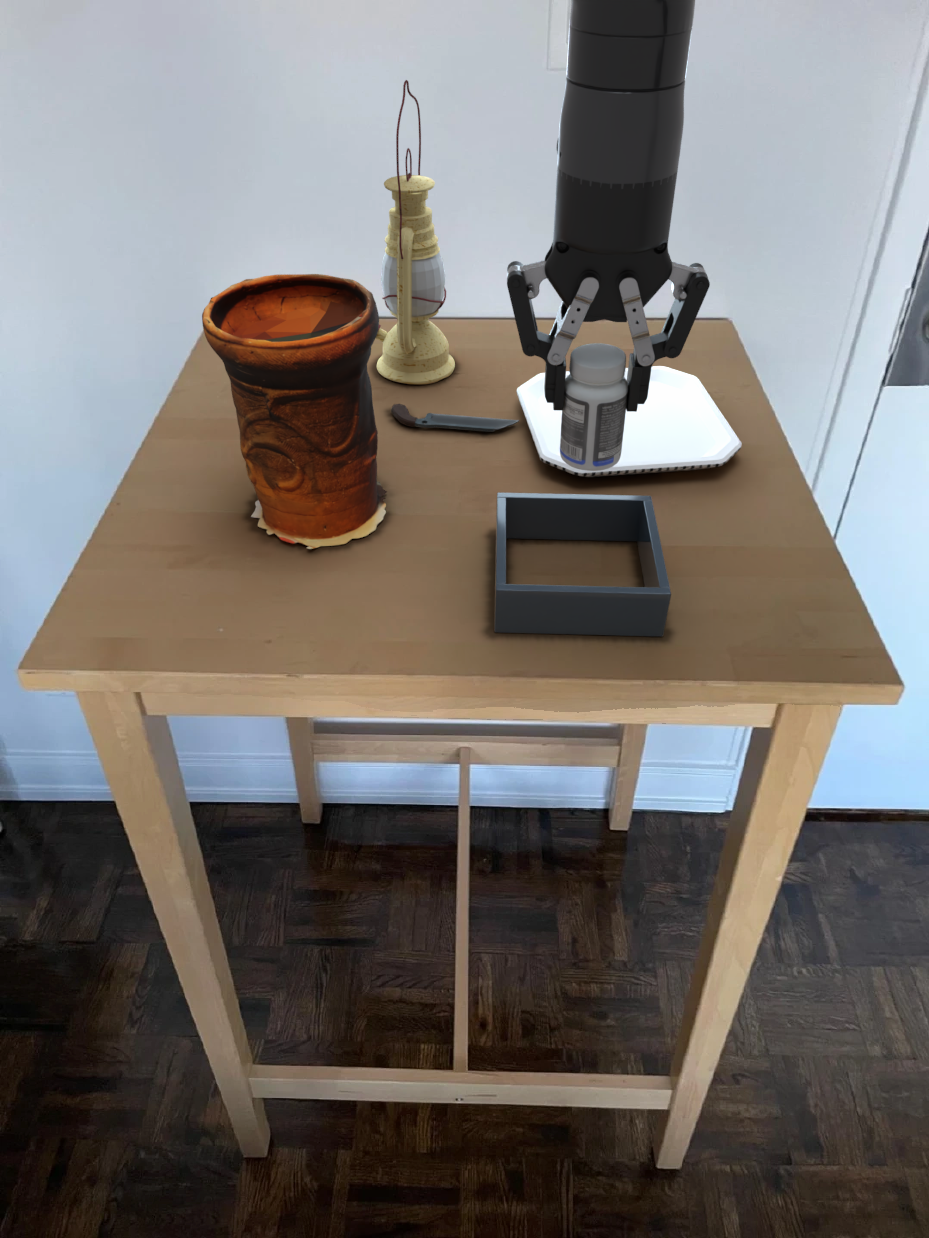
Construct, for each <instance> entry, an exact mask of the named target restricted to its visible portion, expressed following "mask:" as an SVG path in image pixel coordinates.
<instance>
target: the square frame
mask: <svg viewBox="0 0 929 1238" xmlns="http://www.w3.org/2000/svg"><path fill="white" fill-rule="evenodd" d="M495 517H496V518H495V519H496V520H495V563H494V565H495V567H494V570H495V571H494V625H493V626H494V630H493V631H494V633H499V634H501V633H502V634H538V635H539V634H541V635H582V636H585V635H586V636H620V637H624V636H625V637H656V638H657V637H660V638H661V637H664V634H665V628H666V624H667V623H666V622H667V618H668V613H669V608H670V603H671V598H672V591H671V585H670V581H669V576H668V571H667V567H666V561H665V557H664V553H663V548H662V543H661V537H660V533H659V527H658V523H657V517H656V513H655V509H654V502H653V499H652V496H651V495H635V494H633V495H630V494H629V495H628V494H623V495H622V494H588V493H587V494H585V493H583V494H581V493H579V494H578V493H542V492H539V493H537V492H497V493H496V515H495ZM507 539H511V540H512V539H515V540H516V539H517V540H518V539H519V540H556V541H557V540H558V541H559V540H561V541H562V540H563V541H601V542H602V541H603V542H605V541H606V542H637V543H636V544H637V550H638V556H639V561H640V565H641V566H640V567H641V573H642V579H643V584H644V587H643V586H640V587H638V586H602V585H601V586H599V585H598V586H597V585H595V586H594V585H561V584H559V585H557V584H556V585H555V584H552V585H551V584H522V583H521V584H518V583H517V584H515V583H507Z"/></svg>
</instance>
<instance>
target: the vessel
mask: <svg viewBox="0 0 929 1238" xmlns="http://www.w3.org/2000/svg"><path fill="white" fill-rule="evenodd" d="M201 321H202V329H203V333H204V337H205V339H206V341H207V343H208V345H209V346H210V348H211V350H213V352H214V353H215V354H216V355H217V356H218V358H220V360H221V361H222V362H223V366H224V369H225V372H226V374H227V376H228V378H229V381H230V392H231V396H232V401H233V405H234V408H235V413H236V414H235V415H236V419H237V420H236V421H237V425H238V429H239V445H240V452H241V457H242V458H243V459H244V462H245V469H246V473H247V477H248V479H249V481H250V483H251V485H252V486H253V488H254V491H255V494H256V497H257V500H256V501H255V502H254V505H255V509H254V511H253V513H252V514H251V516H250V518H255V519H258V522H257V527H259V528H260V529H263V530H266V532H265V533H266V534H267V535H268V536H271V535H274V534H275V535H276V536H277V538H279V540H281V541H283V542H286V543H290V544H292V545H293V544H297V543H299V544H302V545H305V546H307V547H306V549H308V550H312V549H317V548H320V547H330V546H331V547H333V546H341V545H345V544H347V543H348V542H350V541H352V539H360V538H363V537H367V536H369V534H371V533H373V532H374V531H376V530H377V528H378V527H377V526H378V525H379V524H380V523H381V522H382V521H383V520H384V518H385V515H386V513H387V510H386V507H387V504H386V502H385V499H386V497H384V496H385V495H386V494H387V493H388V491H387V490H386V489H384V488H383V486H382V484H381V481H377V480H378V460H377V459H378V458H377V455H378V441H379V439H378V438H379V437H378V435H379V432H378V428H377V425H376V417H375V409H374V401H373V388H372V383H371V377H370V374H369V372H368V363H369V360H370V357H371V353H372V346H373V344H374V342H375V340H376V336H377V333H378V327H379V325H380V315H379V311H378V307H377V302H376V300H375V298H374V294H373V292H371V291H370V290H368V289H367V288H366V287H365V286H364V285H363V284H361V283H360V282H359V281H357V280H354V279H351V278H345V277H344V278H343V277H339V276H333V275H329V274H322V273H321V274H320V273H305V274H301V273H299V274H296V273H295V274H293V273H292V274H290V273H289V274H285V273H284V274H271V275H263V276H259V277H255V278H245V279H243V280H241V281H239V282H236V283H234V284H231V285H230V286H228V287H227V288H225V289H224V290H222V291H221V292H220V293H218V294H216V295H214V296H212V297H210V300H209V302H208V303H207V305H205V307H204V309H203V311H202V314H201Z"/></svg>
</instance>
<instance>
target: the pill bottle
mask: <svg viewBox="0 0 929 1238" xmlns="http://www.w3.org/2000/svg"><path fill="white" fill-rule="evenodd" d="M568 366H569V367H568V368H569V371H570V374H569V375H568V376H567V377H566V379H565V392H564V406H563V410H562V419H561V439H560V456H561V458H562V460H563V461H564V462H565V463H566V464H568V465H569V466H571V467H574V468H576V469H580V470H587V471H599V470H605V469H608V468H610V467H612V466H614V465H615V464H617V463H618V461H619V459H620V457H621V451H622V441H623V432H624V423H625V414H626V405H627V395H628V383H627V380H626V379H625V377H624V375H625V369H626V368H627V354H626V353H625V351H624V350H623V349H621V348H620V347H618V346H616V345H613V344H609V343H603V342H602V343H601V342H593V343H585V344H582V345H580V346H576V347H575V348H574V349H573V350H571V353H570V358H569V365H568Z"/></svg>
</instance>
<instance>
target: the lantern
mask: <svg viewBox="0 0 929 1238" xmlns="http://www.w3.org/2000/svg"><path fill="white" fill-rule="evenodd" d="M402 87H403V88H402V100H401V105H400V108H399V111H398V118H397V124H396V135H395V137H396V138H395V140H396V141H395V142H396V143H395V144H396V148H395V149H396V151H395V152H396V176H391V177H388V178H387V179H386V180H384V182H383V186H384V188H385V189H386V190H387V191H390V192H391V199H392V200H393V201H394V206H393V207H391V208H390V209H389V210H388V217H389V223H388V224H387V234H386V236H385V238H384V242H385V243H386V247H385V248H384V252H385V253H384V255H383V257H382V262H381V274H380V283H381V290H382V296H383V297H381V299H382V300H384V305H385V307H386V308H387V309H388V310H389V313H390V314H391V316H393V317H394V318H396V322H397V323H395V324H394V325H393V326H392V328H391V329H390V330H389V331H386V330H385V329H383V328H381V326H382V325H381V324H379V327H378V333H377V336H376V338H375V340H379V341H380V342H381V343H382V355H381V356H380V357H379V358H378V360H377V363H376V371H377V372H378V374H380V375H381V376H382V377H383V378H386V380H390V381H393V382H396V383H401V384H407V385H429V384H434V383H437V382H439V381H441V380H443V379H446V378H448V377H449V376H451V375H452V374H453V373H454V370H455V367H456V364H455V359H454V357H453V356H452V355H451V354H450V352H449V351H450V350H449V349H450V348H449V347H450V346H449V341H448V339H447V337H446V336H445V334H444V333H443V332H442V331H441V329H440V328H439V327H437V325H435V324H434V322H432V321H430V320H429V319H431V318H434V317H435V316H437V315H438V313H439V310H440V309H441V308H442V307H443V305H444V304H445V301H446V299H447V290H446V287H445V285H446V271H445V265H444V259H443V257H442V255H441V253H440V251H441V248H440V246H439V243H438V241H439V237H438V236H437V235H436V234H435V224H434V223H433V210H432V208H431V207H429V206H427V204H426V200H428V199H429V191H430V190H432V189H433V188H435V184H436V182H435V180H434V179H433V178H431V177H428V176H425V175H421V159H422V157H421V156H422V126H421V124H422V123H421V111H420V105H419V101H418V99H417V98H416V96H415V95H413V93H412V92H411V90H410V84H409V80H407V79H405V80H404V82H403V85H402ZM406 90H407V93H408V95H409V96H410V97H411V98H412V99H413V100H414V102H415V104H416V108H417V118H418V163H417V164H418V165H417V167H418V168H417V174H413V171H412V170H413V167H412V165H413V162H412V152H411V149H410V148H409V147H407V148H406V151H405V152H406V153H405V162H404V163H405V174H401V175H400V159H399V158H400V156H399V155H400V153H399V137H400V136H399V135H400V126H401V125H400V124H401V120H402V119H401V118H402V113H403V109H404V105H405V101H406ZM408 155H409V156H408ZM408 157H409V172H408Z"/></svg>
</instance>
